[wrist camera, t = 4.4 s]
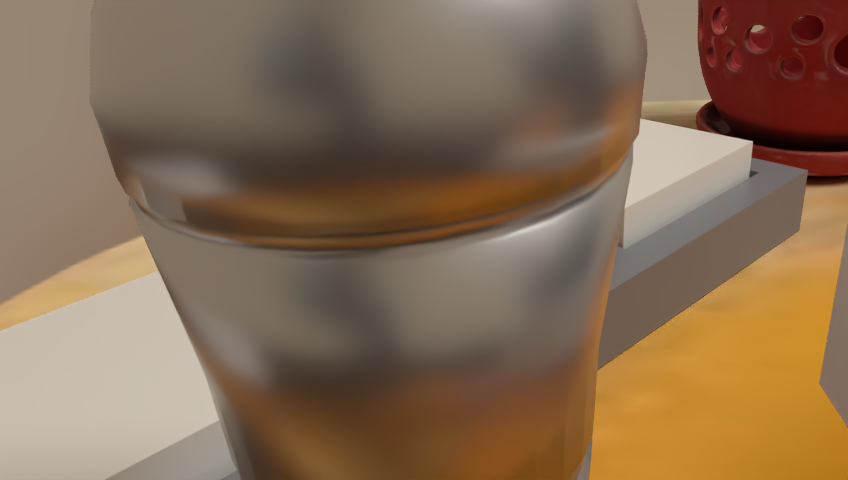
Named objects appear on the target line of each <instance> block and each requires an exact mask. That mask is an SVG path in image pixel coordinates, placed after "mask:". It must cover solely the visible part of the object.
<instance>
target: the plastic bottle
mask: <svg viewBox="0 0 848 480" xmlns="http://www.w3.org/2000/svg"><path fill="white" fill-rule="evenodd" d="M90 45H91V46H90V104H91V107H92V109H93V112H94V115H95V117H96V120H97V123H98V125H99V128H100V131H101V134H102V136H103V139H104V142H105V145H106V148H107V151H108V154H109V157H110V160H111V163H112V165H113V168H114V172H115V174H116V177H117V179H118V180H119V182H120V184H121V186H122V187H123V189H124V191H125V193H126V194H127V195H129V205H130V207H131V209H132V212H133V214H134V216H135V218H136V221H137V223H138V225H139V227H140V230H141V232H142V234H143V237H144V239H145V241H146V243H147V246H148V248H149V250H150V252H151V255H152V257H153V259H154V261H155V264H156V266H157V268H158V270H159V273H160V275H161V277H162V279H163V282H164V284H165V286H166V288H167V291H168V293H169V295H170V297H171V300H172V302H173V304H174V306H175V309H176V311H177V313H178V315H179V318H180V320H181V322H182V324H183V327H184V329H185V331H186V333H187V336H188V338H189V340H190V342H191V345H192V347H193V349H194V351H195V354H196V356H197V358H198V360H199V363H200V365H201V367H202V370H203V372H204V374H205V376H206V380H207V383H208V386H209V389H210V392H211V395H212V399H213V402H214V405H215V408H216V411H217V414H218V417H219V421H220V424H221V427H222V430H223V433H224V436H225V439H226V443H227V446H228V449H229V452H230V455H231V458H232V461H233V463H234V465H235V467H236V470H237V472H238V474H239V477H240V480H589V475H590V462H591V449H592V434H593V421H594V409H595V395H596V381H597V368H598V354H599V343H600V337H601V332H602V326H603V321H604V316H605V310H606V305H607V299H608V294H609V289H610V283H611V278H612V273H613V267H614V262H615V256H616V251H617V246H618V240H619V235H620V229H621V224H622V219H623V213H624V208H625V203H626V197H627V192H628V186H629V181H630V176H631V170H632V165H633V142H634V141H635V139H636V138H637V136H638V135H639V128H640V117H641V107H642V96H643V87H644V78H645V70H646V62H647V39H646V35H645V31H644V27H643V23H642V19H641V15H640V11H639V7H638V3H637V0H94V4H93V7H92V11H91V44H90Z"/></svg>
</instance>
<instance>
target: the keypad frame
mask: <svg viewBox="0 0 848 480" xmlns="http://www.w3.org/2000/svg"><path fill="white" fill-rule="evenodd" d="M807 175H808V170H805V169H801V168H796V167H792V166H787V165H783V164H778V163H774V162H769V161H765V160H760V159H755V158H751V165H750V174H749V179H747V180H745V181H743V182H742V183H740V184H738V185H736V186H735V187H733V188H731V189H729V190H728V191H726V192H724V193H722V194H721V195H719V196H717V197H715V198H714V199H712V200H710V201H708V202H707V203H705V204H703V205H701V206H700V207H698V208H696V209H694V210H693V211H691V212H689V213H687V214H685V215H684V216H682V217H680V218H678V219H677V220H675V221H673V222H671V223H670V224H668V225H666V226H664V227H663V228H661V229H659V230H657V231H656V232H654V233H652V234H650V235H649V236H647V237H645V238H643V239H642V240H640V241H638V242H636V243H635V244H633V245H631V246H629V247H628V248H626V249H624V248H621V247H618V246H617V251H616V256H615V262H614V267H613V273H612V278H611V283H610V289H609V294H608V299H607V305H606V310H605V316H604V321H603V326H602V332H601V337H600V343H599V354H598V368H597V370H598V369H599V368H600V367H602V366H603V365H605V364H606V363H608V362H609V361H611V360H612V359H613V358H615V357H616V356H618V355H619V354H621V353H622V352H624V351H625V350H626V349H628V348H629V347H631V346H632V345H634V344H635V343H637V342H638V341H639V340H641V339H642V338H644V337H645V336H647V335H648V334H650V333H651V332H652V331H654V330H655V329H657V328H658V327H660V326H661V325H663V324H664V323H666V322H667V321H668V320H670V319H671V318H673V317H674V316H676V315H677V314H679V313H680V312H681V311H683V310H684V309H686V308H687V307H689V306H690V305H692V304H693V303H694V302H696V301H697V300H699V299H700V298H702V297H703V296H705V295H706V294H707V293H709V292H710V291H712V290H713V289H715V288H716V287H718V286H719V285H720V284H722V283H723V282H725V281H726V280H728V279H729V278H731V277H732V276H733V275H735V274H736V273H738V272H739V271H741V270H742V269H744V268H745V267H746V266H748V265H749V264H751V263H752V262H754V261H755V260H757V259H758V258H759V257H761V256H762V255H764V254H765V253H767V252H768V251H770V250H771V249H772V248H774V247H775V246H777V245H778V244H780V243H781V242H783V241H784V240H785V239H787V238H788V237H790V236H791V235H793V234H794V233H796V232H797V231H798V230H799V228H800V222H801V215H802V208H803V202H804V195H805V188H806V181H807ZM221 480H240V477H239V474H238V472H237V471H235V472H233V473H231V474H230V475H228V476H226V477H224V478H223V479H221Z"/></svg>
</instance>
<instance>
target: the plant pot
mask: <svg viewBox="0 0 848 480" xmlns="http://www.w3.org/2000/svg"><path fill="white" fill-rule="evenodd" d="M802 16H803V17H802ZM800 17H802V18H800ZM799 18H800V19H799ZM727 25H728V26H727ZM754 25H762V26H764V27H765V28H763V29H762V30H760V31H758V32H750V31H751V29H752V27H753V26H754ZM726 26H727V28H726ZM725 28H726V30H725ZM698 49H699V56H700V64H701V68H702V73H703V77H704V80H705V84H706V86H707V89H708V92H709V94H710V96H711V99H712V101H710V102H708V103H707V104H705V105H704V106H703V107H702V108H701V109H700V110H699V111H698V113H697V115H696V124H697V128H698V130H699V131H704V132H709V133H714V134H719V135H724V136H729V137H734V138H739V139H743V140H748V141H753V148H752V156H751V158H755V159H760V160H765V161H769V162H774V163H778V164H783V165H787V166H792V167H796V168H801V169H805V170H808V175H807V176H843V175H848V0H698Z"/></svg>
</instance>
